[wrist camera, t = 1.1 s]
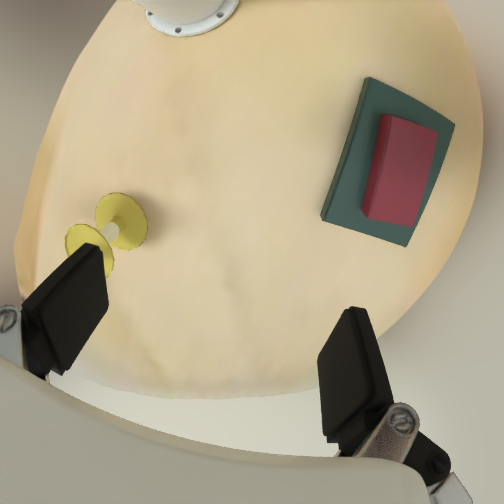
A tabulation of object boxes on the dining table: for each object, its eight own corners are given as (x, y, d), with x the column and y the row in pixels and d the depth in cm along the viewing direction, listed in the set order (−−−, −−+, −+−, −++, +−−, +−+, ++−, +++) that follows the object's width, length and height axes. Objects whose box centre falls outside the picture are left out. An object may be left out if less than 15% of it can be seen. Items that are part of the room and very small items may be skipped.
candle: (155, 245, 41) (64, 387, 18) (108, 252, 43) (16, 370, 20) (136, 186, 37) (0, 304, 13) (88, 199, 38) (-33, 301, 15)
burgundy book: (380, 113, 27) (389, 114, 25) (426, 129, 27) (437, 132, 25) (360, 209, 34) (366, 218, 31) (404, 218, 34) (412, 227, 31)
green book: (364, 78, 27) (369, 76, 25) (448, 122, 28) (455, 124, 26) (320, 214, 37) (322, 220, 35) (401, 241, 38) (406, 247, 36)
